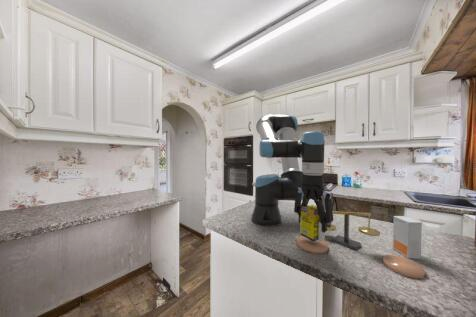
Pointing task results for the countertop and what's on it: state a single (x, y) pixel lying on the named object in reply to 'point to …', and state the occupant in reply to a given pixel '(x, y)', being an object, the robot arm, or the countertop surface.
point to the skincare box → (407, 236)
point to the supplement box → (310, 222)
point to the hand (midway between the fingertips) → (312, 236)
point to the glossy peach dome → (403, 266)
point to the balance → (345, 239)
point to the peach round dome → (312, 245)
